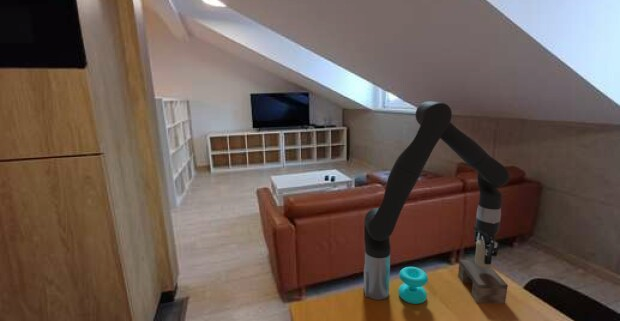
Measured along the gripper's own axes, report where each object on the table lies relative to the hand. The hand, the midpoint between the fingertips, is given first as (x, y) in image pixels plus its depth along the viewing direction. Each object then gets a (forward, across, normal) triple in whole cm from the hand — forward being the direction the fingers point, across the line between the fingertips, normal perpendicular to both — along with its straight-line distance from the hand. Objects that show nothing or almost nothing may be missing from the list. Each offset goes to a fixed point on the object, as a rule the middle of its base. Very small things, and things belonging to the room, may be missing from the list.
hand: (483, 259), depth 114 cm
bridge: (+13, 0, 0) cm, 13 cm away
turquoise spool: (+13, +5, -27) cm, 30 cm away
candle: (+2, 0, 0) cm, 2 cm away
